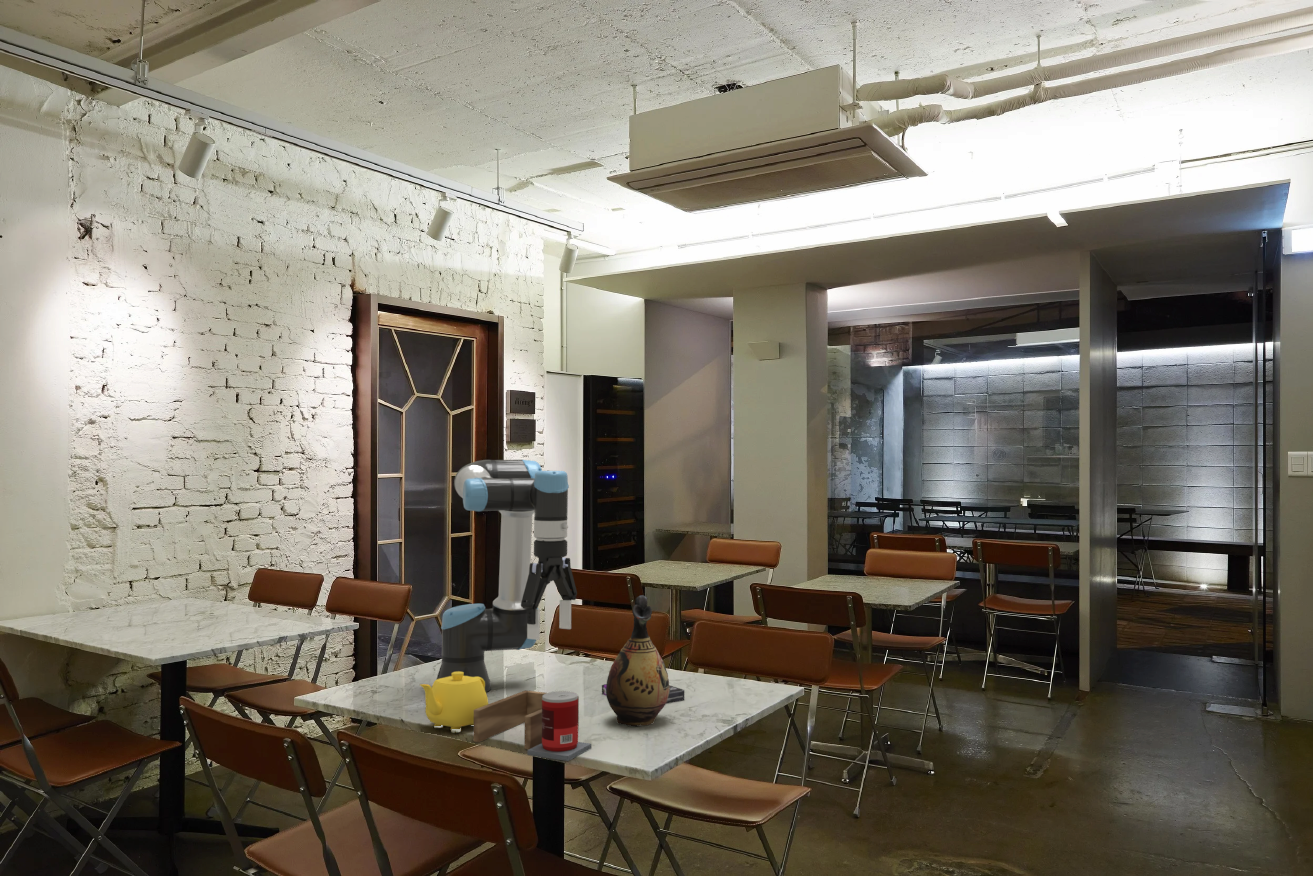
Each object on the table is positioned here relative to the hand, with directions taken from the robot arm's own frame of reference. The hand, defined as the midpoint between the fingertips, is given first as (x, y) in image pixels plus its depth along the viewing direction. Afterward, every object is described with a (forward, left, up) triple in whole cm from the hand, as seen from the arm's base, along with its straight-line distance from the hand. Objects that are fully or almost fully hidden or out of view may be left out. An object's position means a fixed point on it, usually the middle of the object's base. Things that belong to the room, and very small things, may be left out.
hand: (549, 633), depth 206 cm
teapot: (-27, 0, -24) cm, 36 cm away
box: (+1, +47, -25) cm, 53 cm away
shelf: (-8, +3, -24) cm, 25 cm away
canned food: (+6, -5, -23) cm, 24 cm away
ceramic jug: (+10, +24, -24) cm, 36 cm away
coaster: (+6, -6, -24) cm, 25 cm away
